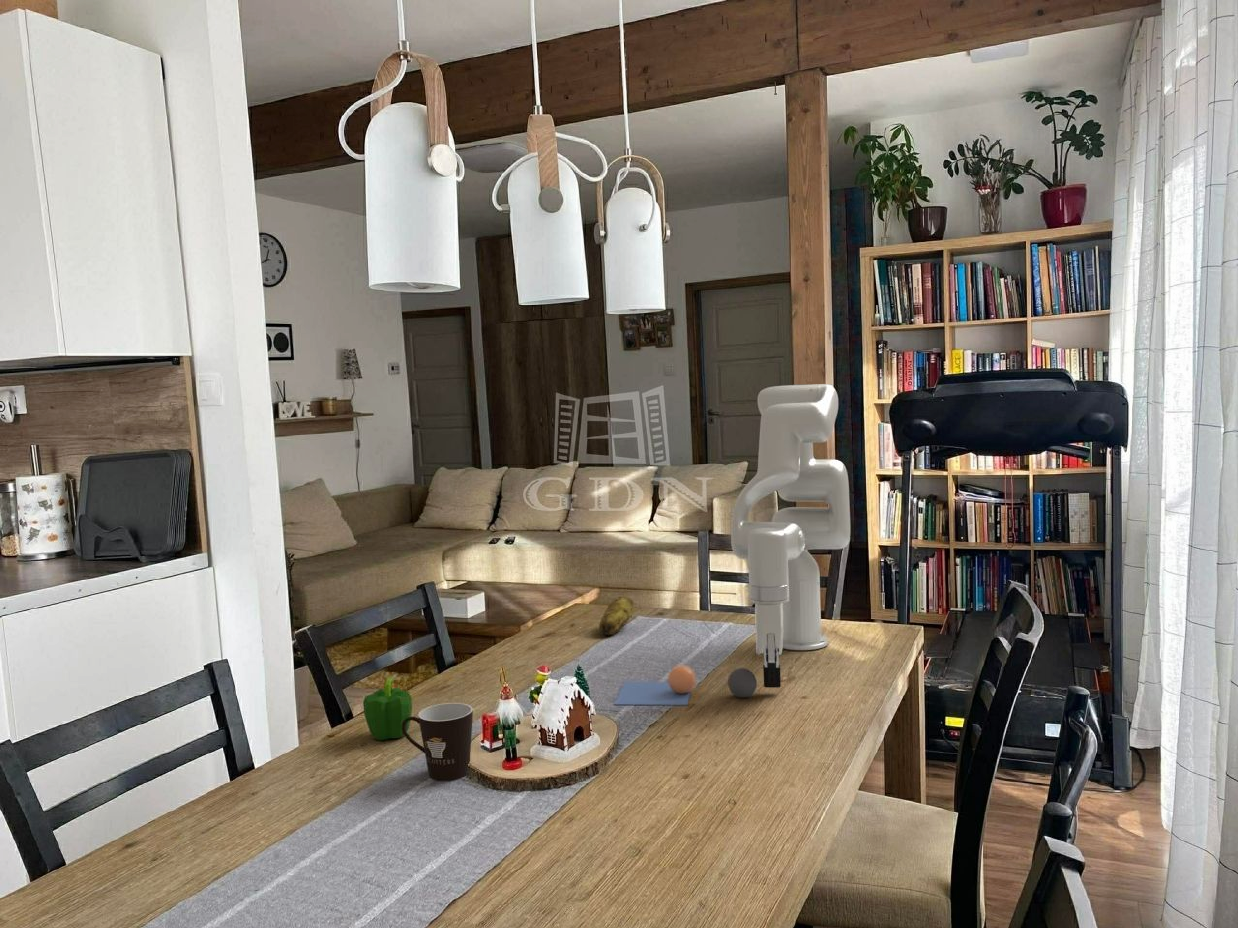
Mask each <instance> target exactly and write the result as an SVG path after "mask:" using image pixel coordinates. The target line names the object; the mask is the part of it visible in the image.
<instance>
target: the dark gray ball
mask: <svg viewBox="0 0 1238 928" xmlns="http://www.w3.org/2000/svg"><path fill="white" fill-rule="evenodd" d="M727 679H728V680H727V686H728V689H729V691H730V692H731V693H732V695H734V696H735V697H737V698H749V696H752V694H754V693H755V691H756V688H757V685H758V683H757V678H756V675H755V674H754V673H753V672H752V671H751V670H750V669H747V668H743V667H742V668H739V667H738V668H736V669H734V670H733V671H732V672H731V673H730V674H729V676H728V678H727Z"/></svg>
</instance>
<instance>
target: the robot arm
mask: <svg viewBox="0 0 1238 928" xmlns="http://www.w3.org/2000/svg"><path fill="white" fill-rule="evenodd" d="M757 406H758V411H759V413H760V415H761V417H760V425H759V427H760V429H759V444H758V459H757V460H758V461H757V472H756V474H755V475H754V476H753V478H751V480H749V481H748V482H747V484H746V485H745V486H744V487H743V488H742V489H741V492H740V493H739V495H738V496H737V498H736V500H735V503H734V507H733V511H732V521H731V522H732V523H731V534H730V536H731V537H730V538H731V539H730V540H731V541H730V543H731V544H730V545H731V549H732V552H733V554H734V555H735V557H737V558H739V559H741V560H747V562H748V589H749V592H748V593H749V601H750V602H751V603H753V604H755V605H754V625H755V627H754V628H755V631H754V632H755V649H756V650H755V652H756V654H757V655H758V656H761V654H763V656H764V657H763V659H764V664H762V665H763V667H762V669H763V670H762V671H763V687H764V688H769V689H770V688H772V689H773V688H776V689H777V688H781V685H782V683H781V682H782V681H781V680H782V679H781V665H780V663H779V661H780V660H779V658H780V657H779V656H780V655H782V653H783V650H790V651H812V650H819V649H823V648H824V647H827V646H828V645H829V637H828V636H826V635H824V634H822V619H821V618H822V617H821V616H822V615H821V614H822V613H821V612H822V611H821V585H820V584H821V583H820V582H821V580H820V579H821V577H820V568H819V565H818V562H817V561H816V559H815V557H813V556H812V554H811V553H810V552H809V551H808V550H842V549H844V548H846V547H847V546H848V545H849V543H850V539H851V509H850V487H849V486H850V485H849V475H848V470H847V468H846V466H845V464H844V463H843V462H842V461H840V460H838V459H831V458H830V459H829V458H827V459H816V458H815V457H814V443H825V442H827V441H828V440H829V439H830V437H831V435H832V432H833V430H834V426H835V423H836V419H837V415H838V411H839V397H838V393H837V391H836V389H835V387H834V386H832V385H830V384H828V383H827V384H826V383H822V384H821V383H820V384H819V383H818V384H817V383H815V384H792V385H791V384H790V385H789V384H788V385H779V386H778V385H775V386H770V387H769V386H768V387H766V388H763V389H762V390H760V392H759V393H758V395H757ZM775 492H777V494H778V496H779V497H780V499H781V500H783V501H786V502H797V503H798V502H801V503H802V502H805V503H807V502H808V503H809V502H812V503H813V502H815V503H818V502H819V503H820V502H821V503H822V502H823V503H826V505H828V507H827V506H824V507H823V506H822V507H820V506H819V507H818V506H816V507H815V506H791V507H784V508H782V509H779V510H777V511H776V512H775V513H774V514H773V516H772V518H771V519H772V520H771V521H748V520H749V515H750V513H751V510H752V508H754V506H755V505H756V504H757V503H758V502H759V501H761V499H763V498H765V497H767V496H768V495H770V494H772V493H775Z"/></svg>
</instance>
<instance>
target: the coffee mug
mask: <svg viewBox="0 0 1238 928" xmlns="http://www.w3.org/2000/svg"><path fill="white" fill-rule="evenodd" d="M417 716H418V717H416V716H411V717H408V718H407V719H405V720H404V721H403V723H402V732H403V734H404V737H405V738H406V740H408V741H409V742H410V744H412V745H413V746H414V747H415V748H417V749H418V750H419V751H421V752H422V753H424V756H425V760H426V761H425V762H426V766H427V767H426V768H427V771H428V777H429V778H430V780H431V779H432V780H433V781H437V782H448V781H456V780H459V779H461V778H464V777H466V776H467V775H468V774H467V770H468V764H469V762H470V763H471V748H472V747H471V746H472V736H473V735H472V733H473V732H472V731H473V716H474V708H473V707H472V706H471V705H469V704H466V703H463V702H462V703H461V702H460V703H459V702H447V703H439V704H434V705H431V706H428V707H425V708H423V709H421V710H420V711H419V712H418V714H417ZM408 721H410V722H411V721H413V722H416V723H418V725H419V728H420V734H421V738H422V740H421V741H422V745H423V746H422V745H421V744H419V743H418V742H417V741H415V739H413V738H412V737H411V736H410V735H409V734H408V731H407V732H406V728H405V727H406V723H407V722H408Z"/></svg>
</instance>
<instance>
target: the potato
mask: <svg viewBox="0 0 1238 928" xmlns="http://www.w3.org/2000/svg"><path fill="white" fill-rule="evenodd" d="M634 611H635V603H634V601H633V600H632V599H630V598H629V597H625V596H618V597H615V598H614V599H613V600H611V602H610V603H609V605H608V606H607V608H606V609H605V611H604V613H603V616H602V617H601V618H600V622H599V627H598V628H599V630H600V632H601V633H602V634H603V635H606V636H607V635H608V636H612V635H614V634H616V633H617V632H618V630H619V631H620V630H621V629H622V628H624V626H626V624H627V623H628V621H629V620H630V619H631V618H632V616H633V614H634Z"/></svg>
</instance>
